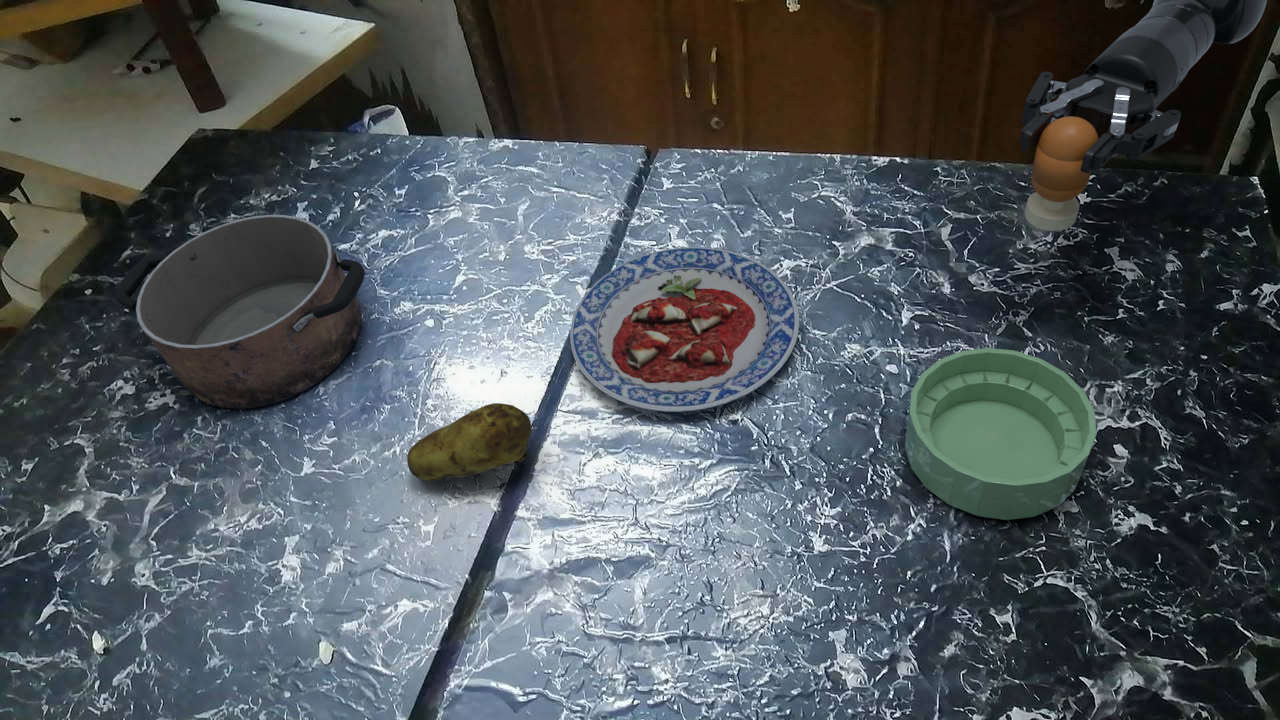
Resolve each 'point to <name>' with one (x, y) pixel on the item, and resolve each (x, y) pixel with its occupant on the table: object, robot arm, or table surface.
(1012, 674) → the table surface
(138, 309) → the cooking pot
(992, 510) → the green round shallow dish
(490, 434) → the potato
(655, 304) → the ceramic plate
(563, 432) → the table surface
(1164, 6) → the robot arm
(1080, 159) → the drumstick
